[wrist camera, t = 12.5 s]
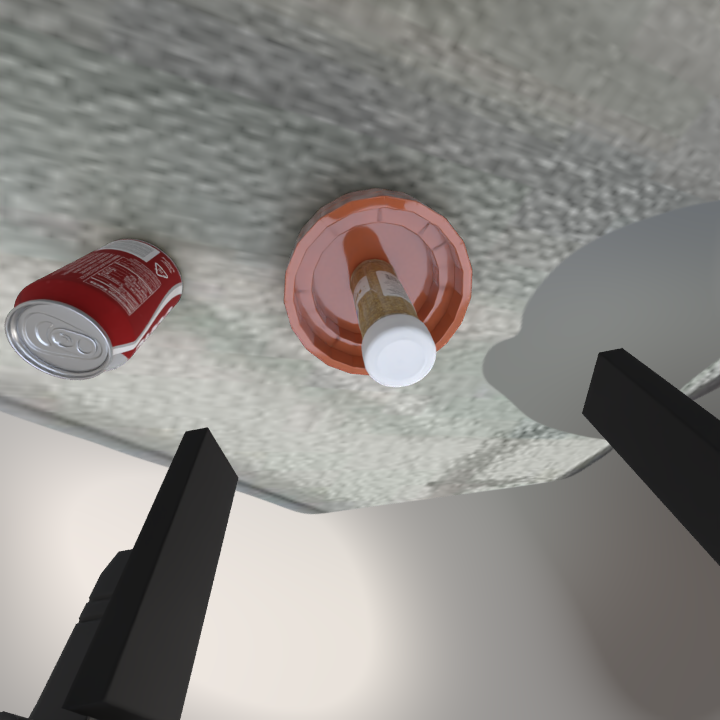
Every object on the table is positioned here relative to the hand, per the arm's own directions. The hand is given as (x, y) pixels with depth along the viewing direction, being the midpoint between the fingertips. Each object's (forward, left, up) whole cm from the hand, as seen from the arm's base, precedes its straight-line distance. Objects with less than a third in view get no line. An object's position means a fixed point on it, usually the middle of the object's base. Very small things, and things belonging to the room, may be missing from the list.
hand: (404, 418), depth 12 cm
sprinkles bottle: (+1, +4, -22) cm, 22 cm away
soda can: (+15, -11, -23) cm, 30 cm away
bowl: (+1, +4, -23) cm, 23 cm away
